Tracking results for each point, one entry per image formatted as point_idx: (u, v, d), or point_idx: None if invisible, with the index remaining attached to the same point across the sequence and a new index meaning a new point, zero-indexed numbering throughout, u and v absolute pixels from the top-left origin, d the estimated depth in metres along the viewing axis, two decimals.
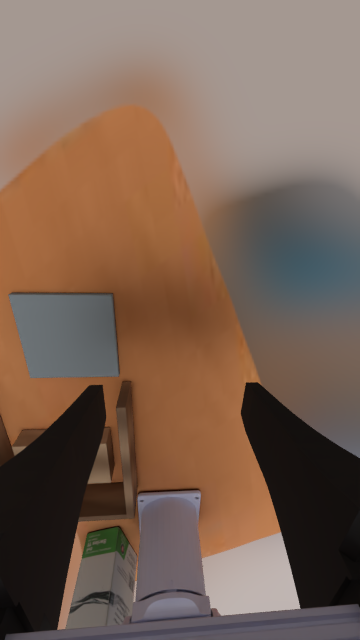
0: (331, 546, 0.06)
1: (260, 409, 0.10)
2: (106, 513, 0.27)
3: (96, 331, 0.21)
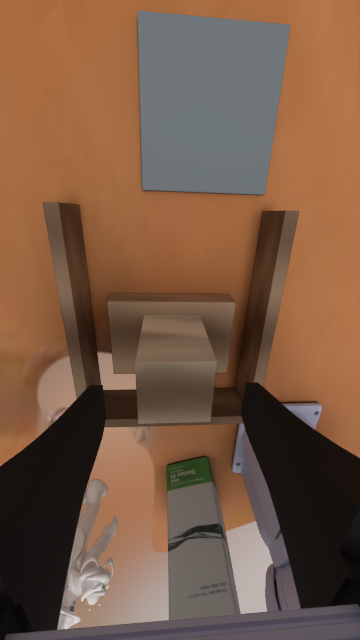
0: (331, 546, 0.06)
1: (260, 409, 0.10)
2: (219, 414, 0.20)
3: (252, 100, 0.14)
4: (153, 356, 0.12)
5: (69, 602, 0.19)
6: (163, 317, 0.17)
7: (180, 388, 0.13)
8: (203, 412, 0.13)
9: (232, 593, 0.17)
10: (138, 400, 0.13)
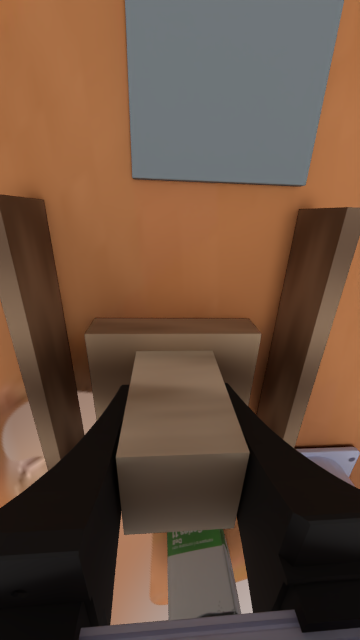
0: (273, 550, 0.06)
1: None
2: None
3: (295, 42, 0.09)
4: (147, 442, 0.08)
5: None
6: (162, 355, 0.12)
7: (190, 489, 0.08)
8: (224, 517, 0.09)
9: None
10: (123, 506, 0.08)
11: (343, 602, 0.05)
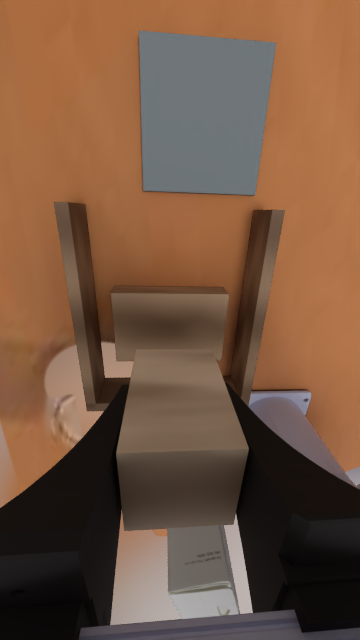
0: (273, 550, 0.06)
1: None
2: None
3: (242, 110, 0.15)
4: (147, 438, 0.08)
5: None
6: (162, 353, 0.12)
7: (190, 486, 0.08)
8: (223, 513, 0.09)
9: (226, 560, 0.19)
10: (123, 503, 0.08)
11: (343, 602, 0.05)
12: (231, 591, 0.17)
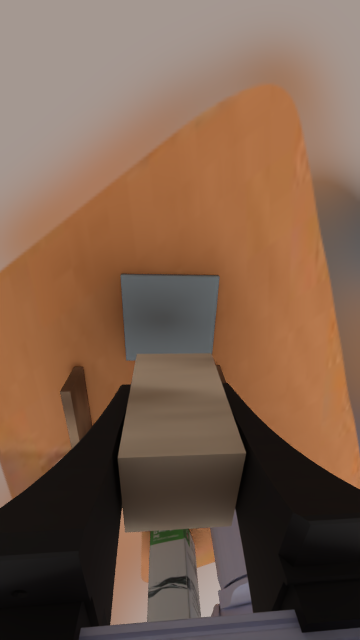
0: (273, 550, 0.06)
1: None
2: None
3: (198, 313, 0.21)
4: (147, 443, 0.08)
5: None
6: (162, 358, 0.13)
7: (189, 489, 0.08)
8: (222, 515, 0.09)
9: None
10: (124, 505, 0.08)
11: (343, 602, 0.05)
12: None
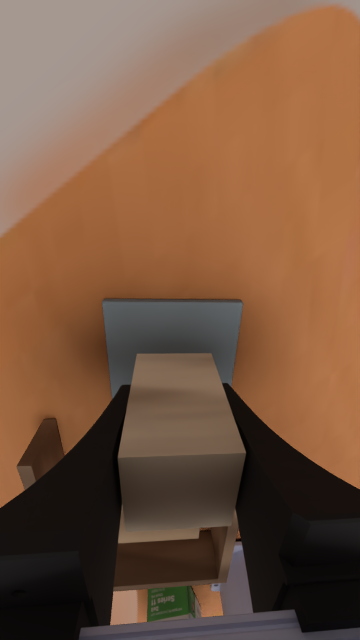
0: (273, 550, 0.06)
1: None
2: (192, 577, 0.21)
3: (211, 351, 0.15)
4: (147, 443, 0.08)
5: None
6: (162, 357, 0.13)
7: (189, 488, 0.08)
8: (222, 515, 0.09)
9: None
10: (124, 505, 0.08)
11: (343, 602, 0.05)
12: None
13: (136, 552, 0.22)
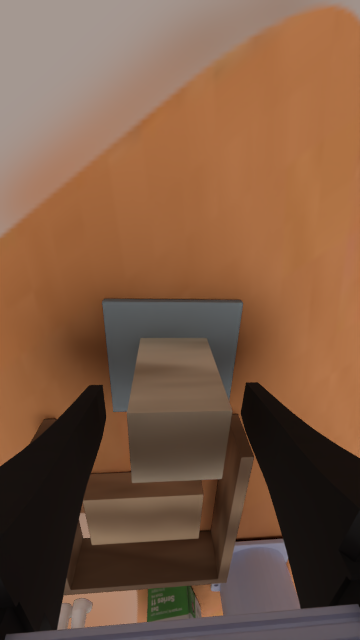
0: (331, 546, 0.06)
1: (260, 409, 0.10)
2: (192, 577, 0.21)
3: (211, 351, 0.15)
4: (151, 403, 0.10)
5: None
6: (163, 341, 0.14)
7: (185, 442, 0.10)
8: (213, 468, 0.11)
9: None
10: (131, 457, 0.10)
11: None
12: None
13: (136, 552, 0.22)
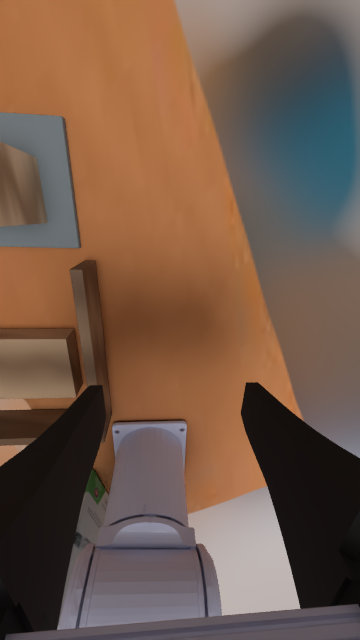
0: (331, 546, 0.06)
1: (260, 409, 0.10)
2: None
3: (45, 174, 0.16)
4: None
5: None
6: None
7: None
8: None
9: None
10: None
11: None
12: None
13: (24, 419, 0.24)
